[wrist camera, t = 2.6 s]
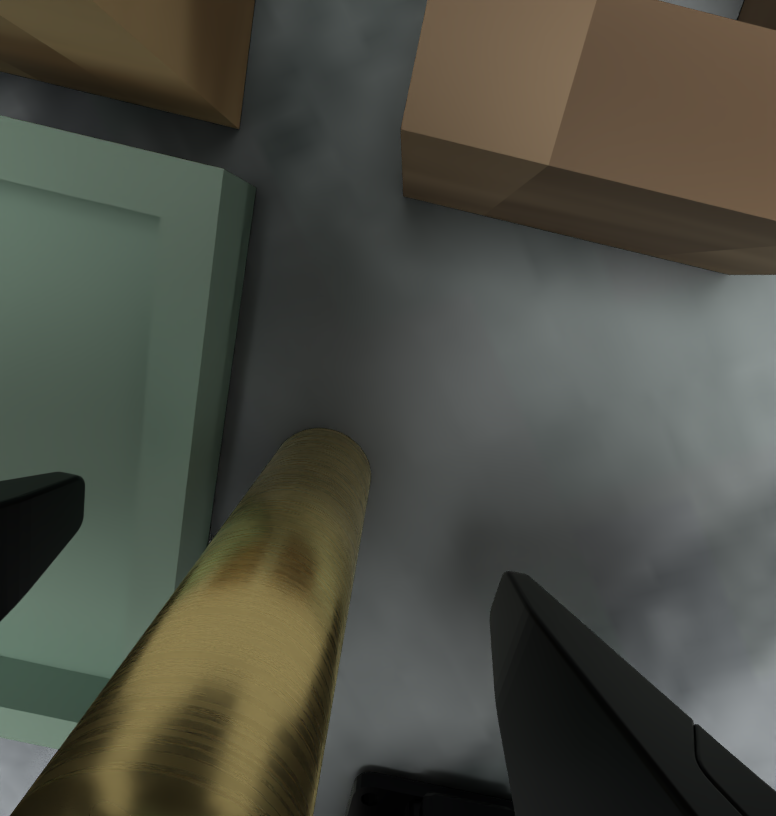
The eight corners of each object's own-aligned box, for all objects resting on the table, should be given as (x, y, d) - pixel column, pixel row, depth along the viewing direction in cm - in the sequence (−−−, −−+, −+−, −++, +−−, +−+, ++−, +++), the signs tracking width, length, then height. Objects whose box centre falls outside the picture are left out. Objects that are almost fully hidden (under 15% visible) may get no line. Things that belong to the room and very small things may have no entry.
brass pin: (359, 528, 12) (271, 1006, 4) (266, 507, 12) (-3, 951, 4) (380, 440, 11) (323, 809, 3) (280, 418, 11) (-4, 742, 3)
